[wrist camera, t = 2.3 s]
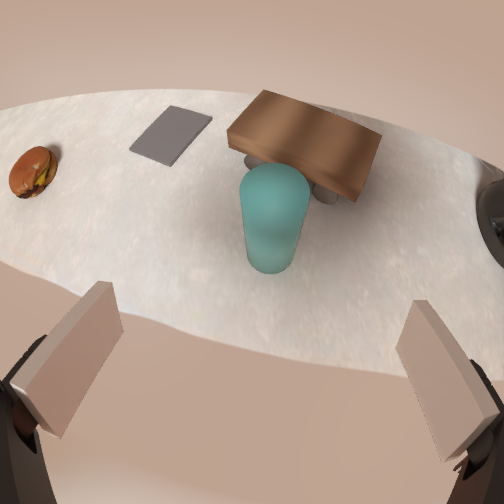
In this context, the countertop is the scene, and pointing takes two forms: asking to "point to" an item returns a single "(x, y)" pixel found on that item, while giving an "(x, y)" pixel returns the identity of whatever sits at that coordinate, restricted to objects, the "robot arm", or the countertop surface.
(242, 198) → the roller
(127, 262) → the countertop surface
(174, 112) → the pad
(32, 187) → the burger
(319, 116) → the slab
